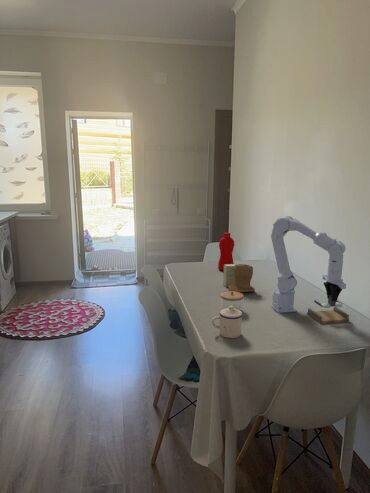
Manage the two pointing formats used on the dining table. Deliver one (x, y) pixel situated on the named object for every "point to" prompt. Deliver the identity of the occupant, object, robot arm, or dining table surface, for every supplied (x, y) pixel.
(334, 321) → the stand
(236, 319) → the teacup with lid
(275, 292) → the robot arm
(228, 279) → the skincare box
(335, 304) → the spectacles
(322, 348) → the dining table surface
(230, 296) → the lidded jar
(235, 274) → the brown boot
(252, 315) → the dining table surface
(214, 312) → the dining table surface
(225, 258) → the red bottle
